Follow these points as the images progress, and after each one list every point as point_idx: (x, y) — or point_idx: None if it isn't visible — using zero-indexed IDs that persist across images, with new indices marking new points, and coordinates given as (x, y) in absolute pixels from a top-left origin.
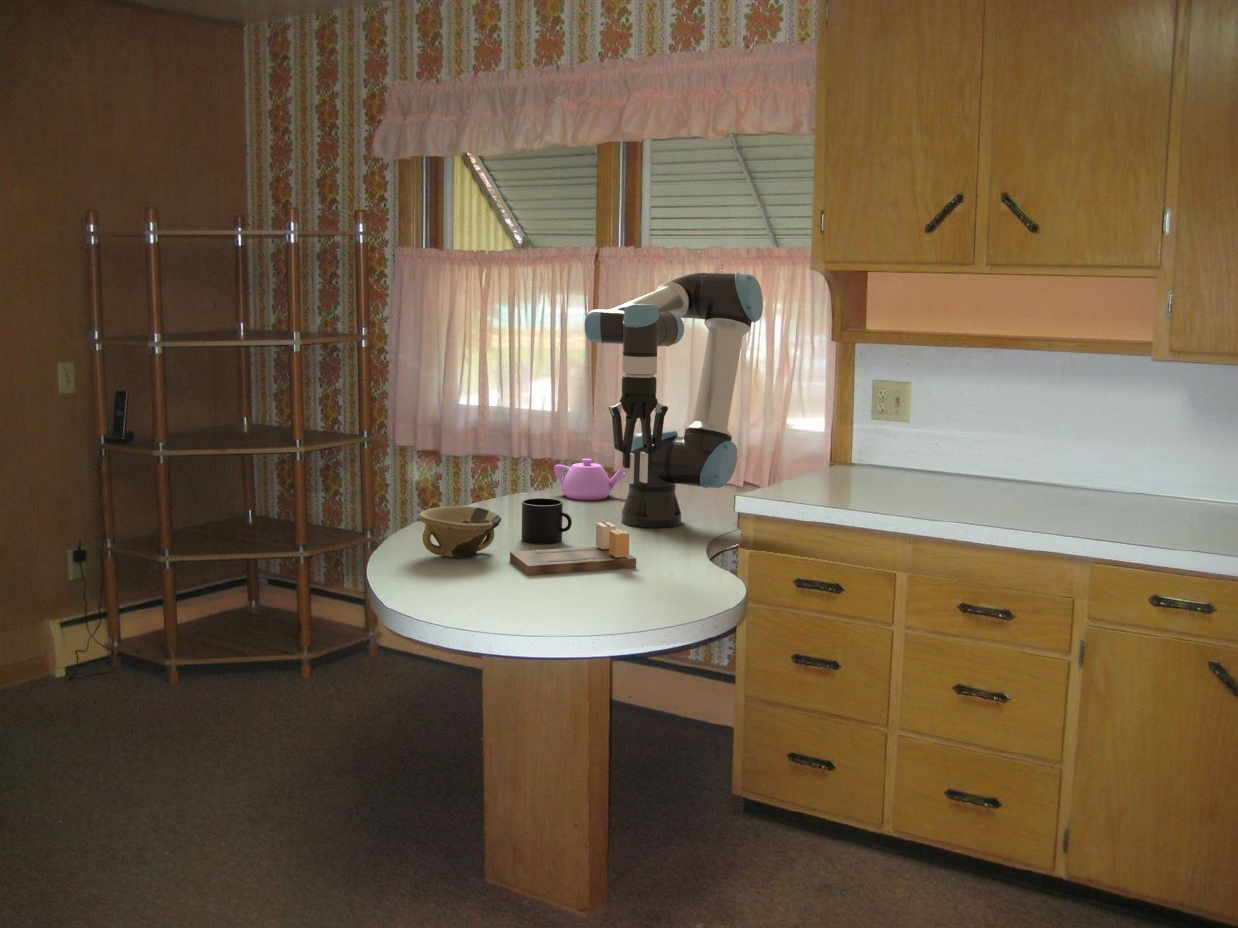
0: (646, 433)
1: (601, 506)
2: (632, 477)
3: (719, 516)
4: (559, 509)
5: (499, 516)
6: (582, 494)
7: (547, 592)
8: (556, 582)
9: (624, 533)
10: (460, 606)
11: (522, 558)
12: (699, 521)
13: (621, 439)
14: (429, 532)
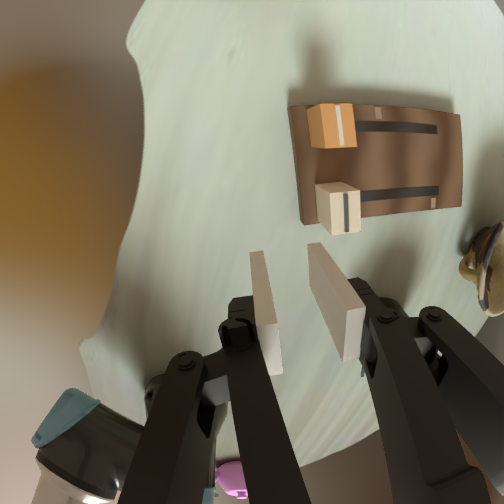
0: (286, 440)
1: (235, 447)
2: (319, 252)
3: (102, 400)
4: None
5: (486, 265)
6: None
7: (435, 29)
8: (424, 64)
9: (331, 106)
10: (495, 36)
11: (459, 161)
12: (123, 390)
13: (462, 349)
14: None
